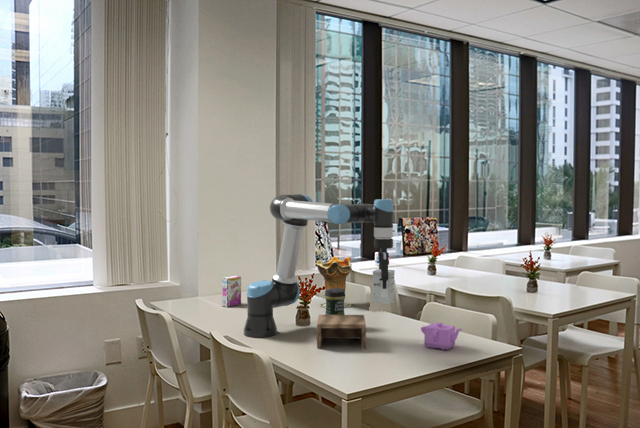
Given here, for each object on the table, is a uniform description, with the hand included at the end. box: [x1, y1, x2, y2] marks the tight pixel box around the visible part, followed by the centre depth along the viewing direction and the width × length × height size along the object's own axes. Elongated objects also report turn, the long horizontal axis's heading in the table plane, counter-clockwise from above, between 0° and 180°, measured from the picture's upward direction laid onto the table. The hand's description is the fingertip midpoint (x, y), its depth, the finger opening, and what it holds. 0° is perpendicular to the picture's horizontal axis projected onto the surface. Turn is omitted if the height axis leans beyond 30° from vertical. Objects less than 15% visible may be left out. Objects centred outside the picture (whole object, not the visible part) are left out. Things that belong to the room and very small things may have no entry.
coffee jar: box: [324, 288, 346, 315], centre depth 261 cm, size 10×8×19 cm
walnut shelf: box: [316, 314, 367, 350], centre depth 233 cm, size 20×18×10 cm
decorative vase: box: [316, 256, 353, 309], centre depth 310 cm, size 21×23×28 cm
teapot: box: [420, 322, 463, 351], centre depth 224 cm, size 18×14×10 cm
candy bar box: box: [221, 275, 242, 307], centre depth 313 cm, size 11×5×16 cm, turn 144°
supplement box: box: [371, 268, 395, 305], centre depth 217 cm, size 7×7×13 cm
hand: (383, 294), depth 218 cm, fingers closed on supplement box, 9 cm apart
